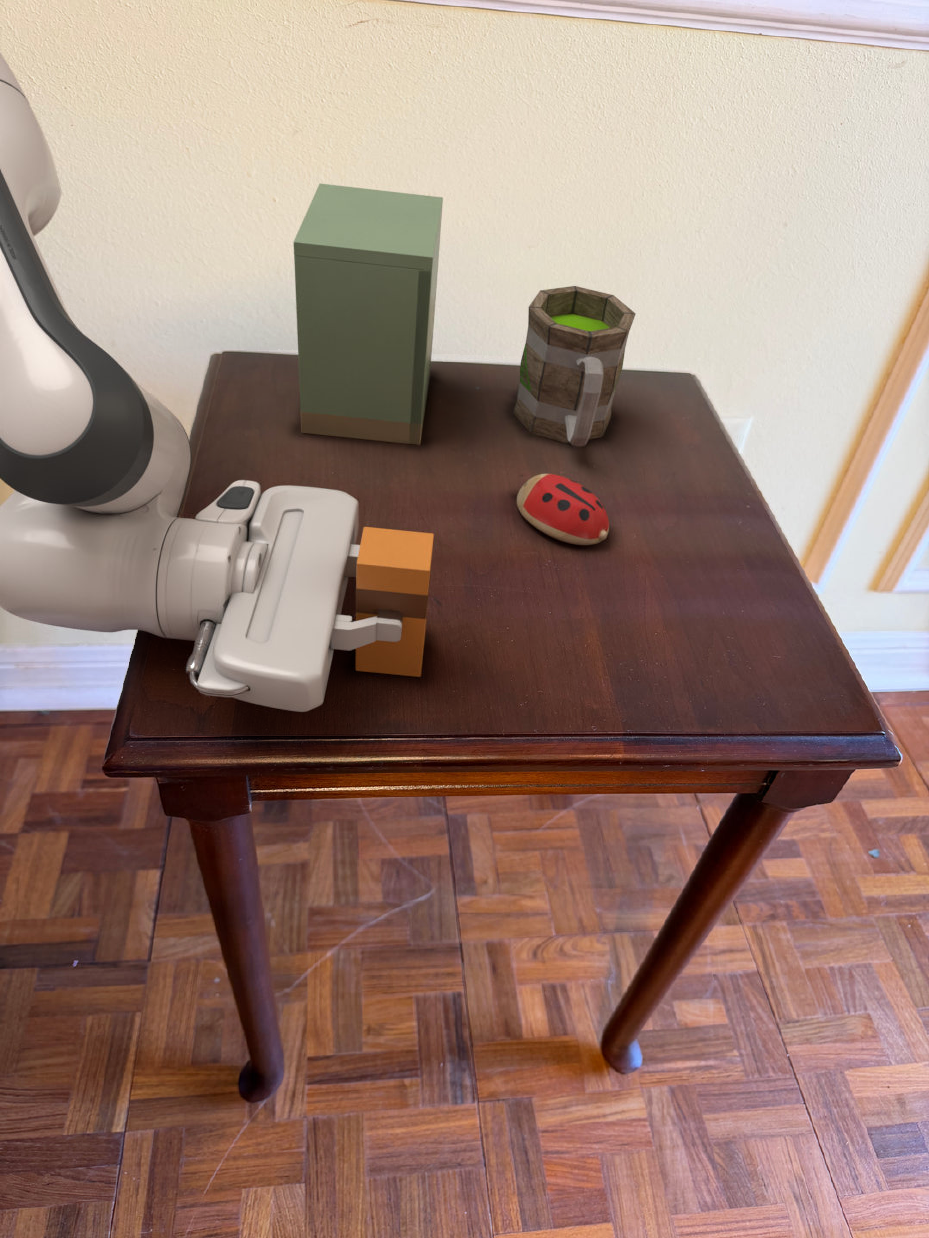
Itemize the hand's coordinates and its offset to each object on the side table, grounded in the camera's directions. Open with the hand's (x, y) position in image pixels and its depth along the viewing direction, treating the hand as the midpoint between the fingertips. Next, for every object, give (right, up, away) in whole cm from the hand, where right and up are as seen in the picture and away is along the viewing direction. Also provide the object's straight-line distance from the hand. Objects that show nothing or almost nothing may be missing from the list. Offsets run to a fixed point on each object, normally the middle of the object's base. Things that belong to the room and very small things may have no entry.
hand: (405, 600), depth 66 cm
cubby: (-6, +22, +30) cm, 37 cm away
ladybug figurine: (+13, +8, +18) cm, 24 cm away
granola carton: (-1, -4, +4) cm, 6 cm away
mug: (+15, +19, +30) cm, 38 cm away
